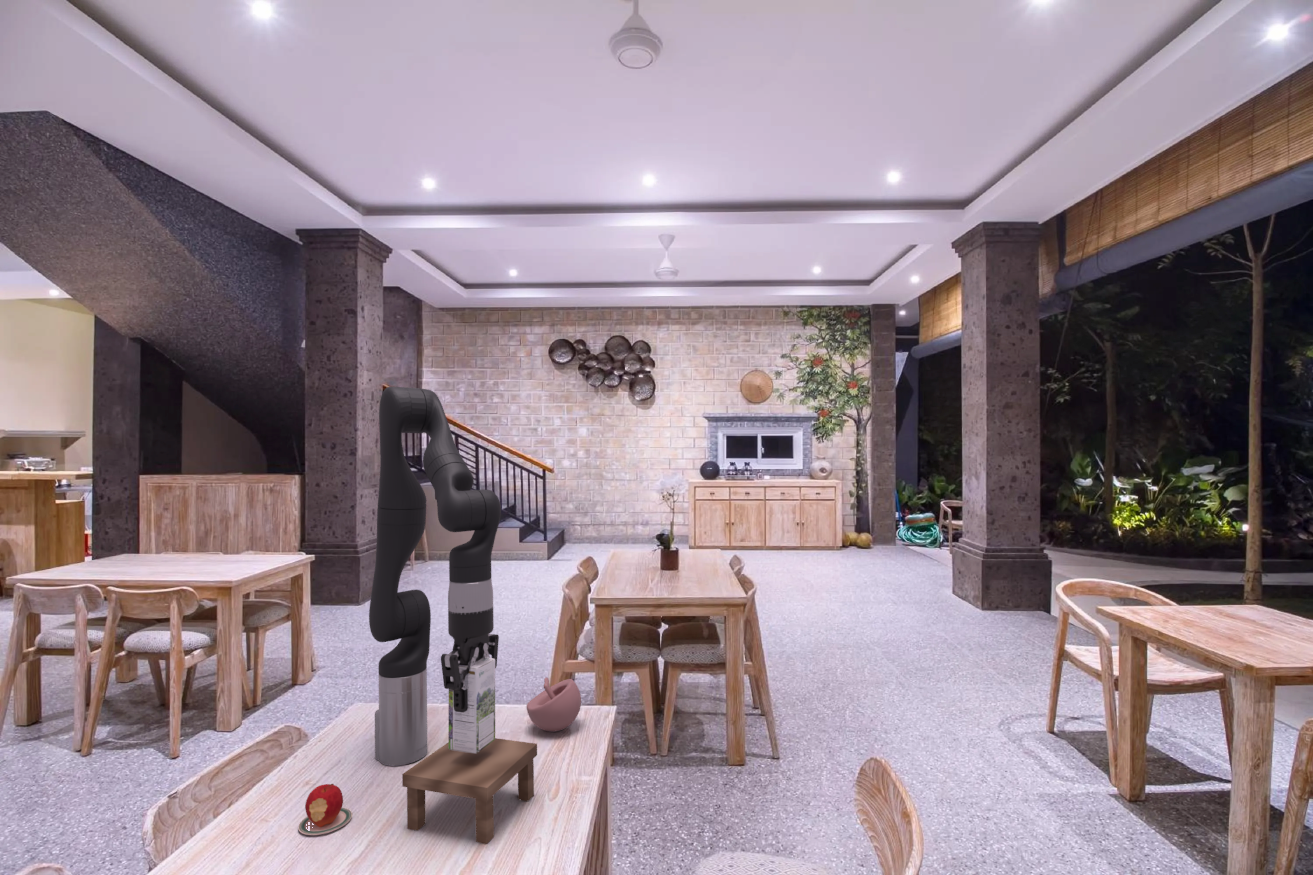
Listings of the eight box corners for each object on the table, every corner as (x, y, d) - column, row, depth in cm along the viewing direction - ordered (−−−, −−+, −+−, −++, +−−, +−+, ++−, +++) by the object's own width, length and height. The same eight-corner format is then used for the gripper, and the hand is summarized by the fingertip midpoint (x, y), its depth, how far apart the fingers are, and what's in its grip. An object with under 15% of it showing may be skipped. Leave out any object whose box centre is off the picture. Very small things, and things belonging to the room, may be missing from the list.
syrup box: (468, 736, 114) (467, 653, 115) (496, 740, 112) (495, 656, 113) (447, 750, 109) (446, 663, 109) (477, 754, 107) (476, 666, 107)
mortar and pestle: (531, 719, 149) (530, 669, 149) (583, 717, 150) (582, 667, 150) (522, 742, 137) (522, 687, 137) (579, 739, 138) (578, 685, 138)
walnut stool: (402, 829, 105) (402, 773, 106) (461, 782, 120) (460, 733, 121) (487, 846, 100) (487, 787, 101) (537, 794, 115) (537, 743, 116)
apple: (358, 824, 107) (358, 784, 108) (305, 844, 102) (305, 802, 102) (344, 805, 113) (343, 767, 114) (293, 823, 108) (292, 783, 108)
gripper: (464, 617, 103) (466, 723, 103) (511, 597, 117) (513, 691, 117) (425, 614, 106) (426, 718, 105) (476, 595, 119) (477, 687, 119)
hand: (472, 703), depth 111 cm, fingers closed on syrup box, 5 cm apart
